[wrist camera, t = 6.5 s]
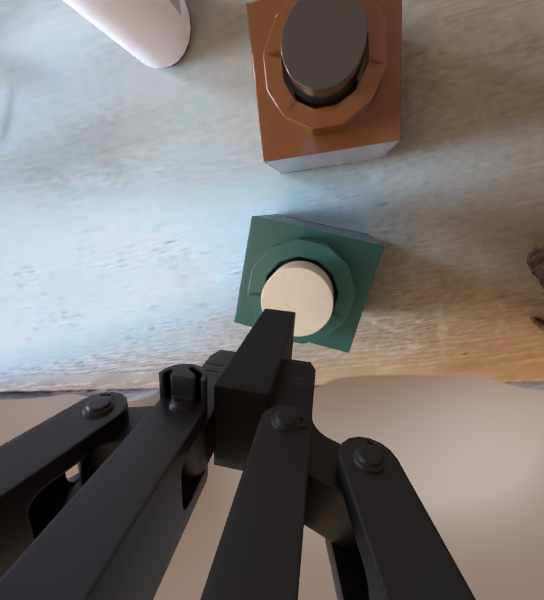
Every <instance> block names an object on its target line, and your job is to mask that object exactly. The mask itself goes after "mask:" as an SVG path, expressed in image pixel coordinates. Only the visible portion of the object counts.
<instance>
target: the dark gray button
mask: <svg viewBox="0 0 544 600" xmlns="http://www.w3.org/2000/svg"><path fill="white" fill-rule="evenodd" d="M367 30H368V29H367V20H366V15H365V12H364V9H363V7H362V5H361V3H360V2H359V1H358V0H299V1H298V2H297V3H296V4H295V5H294V7H293V8H292V10H291V11H290V13H289V15H288V17H287V19H286V22H285V24H284V28H283V31H282V37H281V53H282V59H283V63H284V66H285V69H286V72H287V75H288V78H289V81H290V84H291V86H292V88H293V89H294V91H295V92H296V94H297V95H298V96H299V97H301V98H302V99H303V100H305V101H307V102H309V103H312V104H321V105H322V104H328V103H331V102H334V101H336V100H338V99H339V98H341V97H342V96H343V95H345V94H346V93H347V92H348V91H349V90H350V88H351V87H352V86H353V84H354V83H355V81H356V79H357V77H358V75H359V72H360V69H361V66H362V61H363V56H364V52H365V47H366V42H367Z"/></svg>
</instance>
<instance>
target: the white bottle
mask: <svg viewBox="0 0 544 600" xmlns="http://www.w3.org/2000/svg"><path fill="white" fill-rule="evenodd" d="M63 1H65V2H66V3H67V4H68V5H70V6H71V7H72V8H74V9H75V10H76V11H77V12H79V13H80V14H81V15H83V16H84V17H85V18H86V19H88V20H89V21H90V22H91V23H93V24H94V25H95V26H97V27H98V28H99V29H100V30H102V31H103V32H104V33H106V34H107V35H108V36H109V37H111V38H112V39H113V40H115V41H116V42H117V43H118V44H120V45H121V46H122V47H124V48H125V49H126V50H127V51H129V52H130V53H131V54H132V55H134V56H135V57H136V58H138V59H139V60H140V61H142V62H143V63H144V64H146V65H147V66H149V67H153V68H157V69H160V68H167V67H170V66H172V65H173V64H175V63H177V62H178V60H179V59H180V58H181V57H182V56H183V54H184V53H185V50H186V48H187V45H188V43H189V38H190V31H191V27H190V17H189V12H188V9H187V6H186V3H185V0H63Z"/></svg>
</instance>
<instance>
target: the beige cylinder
mask: <svg viewBox="0 0 544 600" xmlns="http://www.w3.org/2000/svg"><path fill="white" fill-rule="evenodd" d="M261 307H262V311H264V309H265V308H266V309H275V310H283V311H291V312H296V315H295V326H294V336H307V335H310V334H313V333H315V332H317V331H319V330H320V329H321V328H323V327H324V325H325V324H326V323H327V322H328V320H329V319H330V317H331V314H332V311H333V286H332V283H331V280H330V278H329V276H328V275H327V274H326V272H325V271H324V270H323V269H321V268H320V267H319V266H317V265H316V264H313V263H311V262H307V261H293V262H289V263H287V264H285V265H283V266H281V267H280V268H279V269H278V270H277V271H276V272H275V273H274V274H273V275H272V276H271V277H270V278H269V280H268V281H267V282H266V284H265V286H264V288H263V290H262V294H261Z"/></svg>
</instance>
